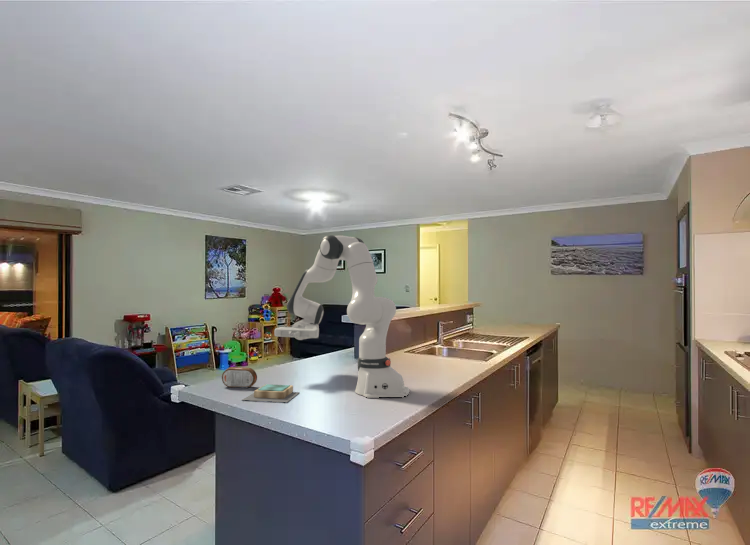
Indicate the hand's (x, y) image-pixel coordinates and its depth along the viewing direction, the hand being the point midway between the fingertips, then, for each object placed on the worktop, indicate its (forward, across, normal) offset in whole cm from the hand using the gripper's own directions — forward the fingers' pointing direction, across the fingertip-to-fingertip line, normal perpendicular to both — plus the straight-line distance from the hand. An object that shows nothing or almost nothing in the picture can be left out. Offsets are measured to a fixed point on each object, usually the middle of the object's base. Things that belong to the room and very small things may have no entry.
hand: (291, 335), depth 165 cm
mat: (+19, -1, +21) cm, 28 cm away
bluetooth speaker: (+7, -21, +22) cm, 31 cm away
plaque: (+12, -1, +20) cm, 23 cm away
